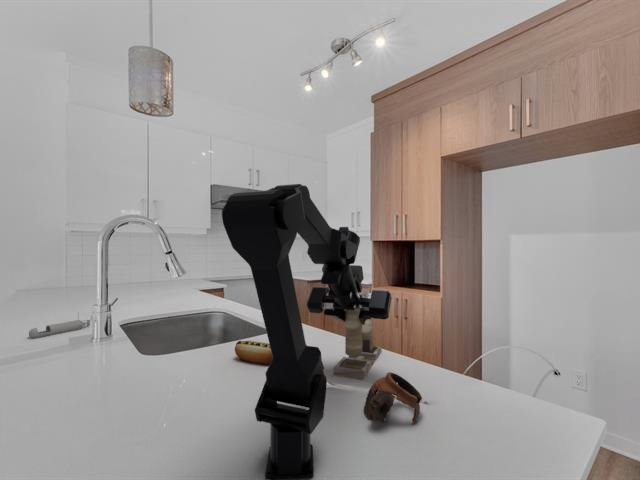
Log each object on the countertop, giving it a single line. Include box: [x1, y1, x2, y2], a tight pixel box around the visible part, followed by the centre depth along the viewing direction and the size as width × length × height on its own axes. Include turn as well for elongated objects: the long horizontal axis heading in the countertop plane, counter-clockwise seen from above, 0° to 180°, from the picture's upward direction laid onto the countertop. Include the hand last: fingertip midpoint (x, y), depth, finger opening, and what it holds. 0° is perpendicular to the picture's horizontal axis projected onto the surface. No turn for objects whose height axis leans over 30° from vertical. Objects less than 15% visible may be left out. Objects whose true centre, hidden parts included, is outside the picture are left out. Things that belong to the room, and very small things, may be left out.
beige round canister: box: [344, 309, 363, 357], centre depth 76 cm, size 4×4×13 cm
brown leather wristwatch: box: [363, 372, 423, 424], centre depth 57 cm, size 12×10×8 cm
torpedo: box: [28, 311, 91, 339], centre depth 113 cm, size 18×5×7 cm, turn 152°
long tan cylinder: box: [362, 318, 374, 353], centre depth 87 cm, size 4×4×13 cm
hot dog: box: [234, 340, 272, 365], centre depth 85 cm, size 5×13×5 cm, turn 67°
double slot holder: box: [332, 344, 383, 381], centre depth 82 cm, size 21×7×3 cm, turn 158°
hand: (355, 322), depth 77 cm, fingers closed on beige round canister, 4 cm apart
